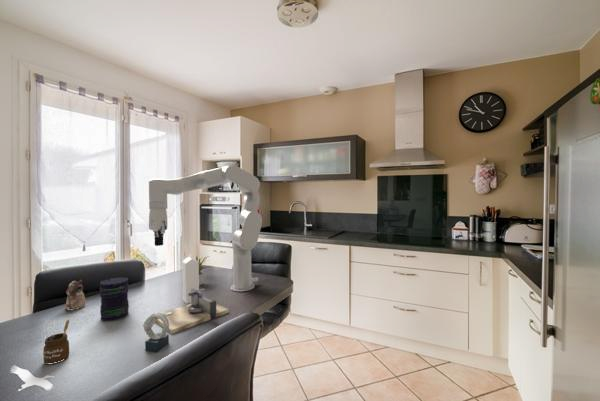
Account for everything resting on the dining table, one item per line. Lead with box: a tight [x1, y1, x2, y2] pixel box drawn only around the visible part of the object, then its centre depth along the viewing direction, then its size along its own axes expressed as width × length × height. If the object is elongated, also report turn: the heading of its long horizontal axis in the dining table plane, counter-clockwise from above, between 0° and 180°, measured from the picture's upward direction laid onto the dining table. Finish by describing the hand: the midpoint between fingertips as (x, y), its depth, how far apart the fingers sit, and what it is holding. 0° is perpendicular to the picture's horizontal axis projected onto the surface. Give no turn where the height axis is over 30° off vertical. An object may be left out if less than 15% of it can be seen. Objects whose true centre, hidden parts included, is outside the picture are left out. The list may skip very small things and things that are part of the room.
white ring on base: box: [142, 312, 170, 353], centre depth 91 cm, size 6×8×11 cm
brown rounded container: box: [42, 318, 70, 364], centre depth 85 cm, size 6×6×12 cm
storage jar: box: [99, 276, 130, 322], centre depth 115 cm, size 10×10×15 cm
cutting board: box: [155, 303, 229, 335], centre depth 115 cm, size 24×18×2 cm
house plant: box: [195, 255, 210, 286], centre depth 157 cm, size 14×14×16 cm
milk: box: [181, 253, 200, 305], centre depth 131 cm, size 6×6×22 cm
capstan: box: [188, 288, 218, 320], centre depth 114 cm, size 18×8×8 cm, turn 49°
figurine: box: [64, 279, 86, 310], centre depth 124 cm, size 7×7×12 cm
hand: (159, 245), depth 128 cm, fingers closed
